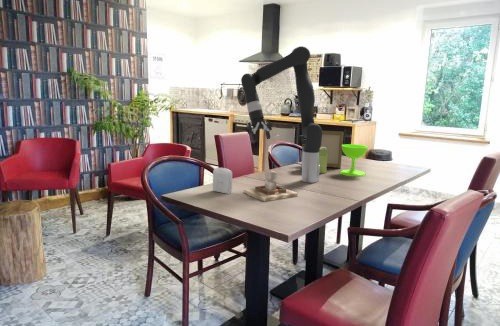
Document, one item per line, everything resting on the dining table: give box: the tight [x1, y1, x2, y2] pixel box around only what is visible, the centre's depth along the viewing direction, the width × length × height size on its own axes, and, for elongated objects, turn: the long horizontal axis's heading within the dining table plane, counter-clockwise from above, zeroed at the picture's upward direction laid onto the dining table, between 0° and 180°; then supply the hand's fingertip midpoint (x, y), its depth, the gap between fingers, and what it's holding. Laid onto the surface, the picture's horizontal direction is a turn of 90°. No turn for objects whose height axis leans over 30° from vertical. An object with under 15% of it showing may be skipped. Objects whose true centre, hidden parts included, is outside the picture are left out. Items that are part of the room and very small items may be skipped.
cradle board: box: [243, 184, 299, 203], centre depth 183 cm, size 20×18×3 cm
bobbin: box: [264, 170, 279, 193], centre depth 182 cm, size 6×6×10 cm
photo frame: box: [321, 130, 344, 169], centre depth 259 cm, size 15×22×25 cm
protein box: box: [300, 146, 328, 174], centre depth 241 cm, size 10×15×16 cm
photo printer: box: [212, 167, 233, 195], centre depth 185 cm, size 10×4×12 cm, turn 61°
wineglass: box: [339, 143, 369, 178], centre depth 235 cm, size 16×16×18 cm
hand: (262, 140), depth 198 cm, fingers open, 8 cm apart
